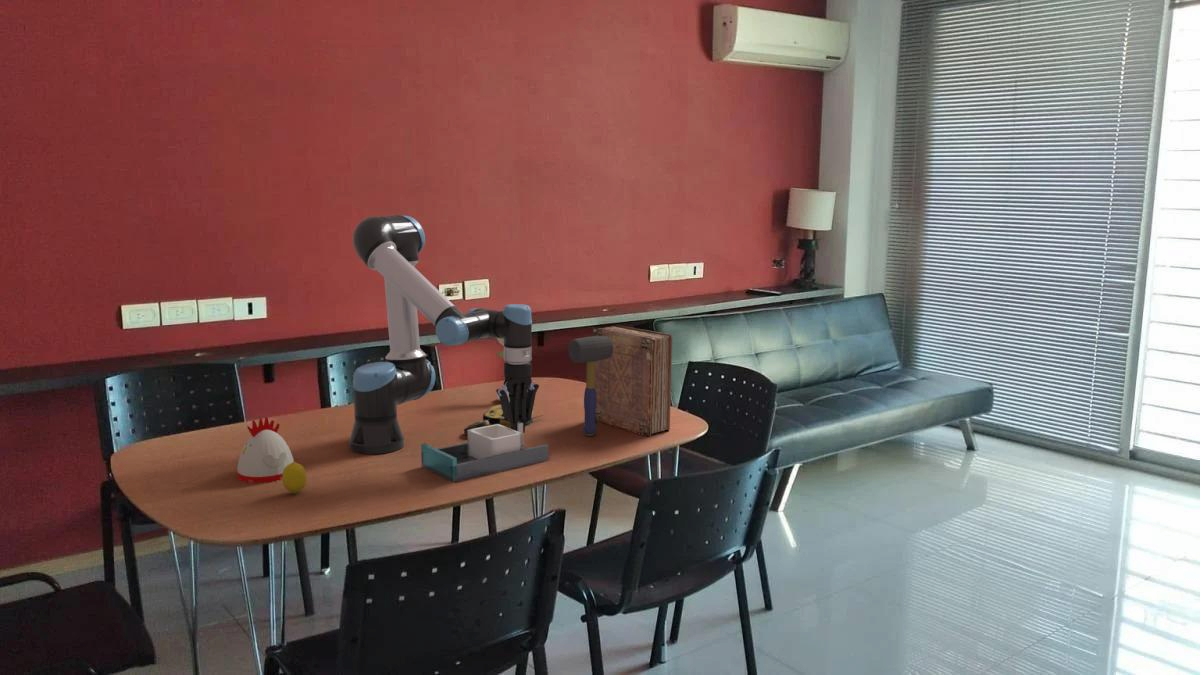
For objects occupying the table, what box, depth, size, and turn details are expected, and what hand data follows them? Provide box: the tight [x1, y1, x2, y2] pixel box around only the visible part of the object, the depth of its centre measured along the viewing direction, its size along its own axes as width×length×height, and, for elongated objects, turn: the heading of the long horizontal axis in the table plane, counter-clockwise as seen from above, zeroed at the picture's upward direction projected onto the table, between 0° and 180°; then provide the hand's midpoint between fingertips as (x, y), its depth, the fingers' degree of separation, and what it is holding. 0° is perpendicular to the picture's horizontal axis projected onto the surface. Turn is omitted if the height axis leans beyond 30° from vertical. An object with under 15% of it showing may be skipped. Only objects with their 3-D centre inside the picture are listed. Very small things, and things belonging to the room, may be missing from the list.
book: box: [591, 324, 673, 437], centre depth 278 cm, size 25×9×30 cm, turn 44°
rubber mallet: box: [567, 336, 613, 437], centre depth 267 cm, size 12×8×30 cm, turn 124°
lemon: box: [281, 461, 308, 495], centre depth 217 cm, size 6×6×8 cm
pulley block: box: [463, 402, 544, 435], centre depth 278 cm, size 14×6×30 cm
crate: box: [467, 424, 524, 459], centre depth 243 cm, size 10×12×7 cm
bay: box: [420, 441, 549, 483], centre depth 242 cm, size 30×16×6 cm, turn 130°
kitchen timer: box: [236, 416, 295, 484], centre depth 230 cm, size 14×14×15 cm
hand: (517, 445), depth 249 cm, fingers closed
